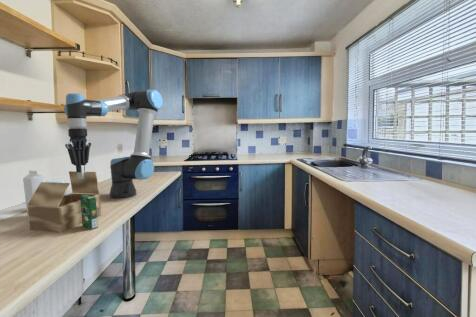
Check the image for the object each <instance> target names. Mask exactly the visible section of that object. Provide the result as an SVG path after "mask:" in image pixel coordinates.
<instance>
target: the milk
mask: <svg viewBox="0 0 476 317" xmlns="http://www.w3.org/2000/svg"><path fill="white" fill-rule="evenodd" d="M22 180H23V190H24V197H25V198H24V199H25V207H26V214H27V218H28V219H29V214H28V206H29V205H28V203H29V202H30V200H31V198H32V196H33V195H34V193H35V191H36V189H37V188H38V186H39V184H40V183H41V182H45V181H46V180H45V176H43V175H42V174H38V172H37V170H29V171H28V174H27V175H26V176H24V177H23V178H22Z"/></svg>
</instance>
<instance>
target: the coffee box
mask: <svg viewBox="0 0 476 317" xmlns="http://www.w3.org/2000/svg"><path fill="white" fill-rule="evenodd" d="M80 201H81V212H82V224H81V225H82V226H83V227H84V228H88V229H90V230H95V229H98V228H99V224H98V217H97V209H96V197H92V196H89V195H82V196H80Z"/></svg>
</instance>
